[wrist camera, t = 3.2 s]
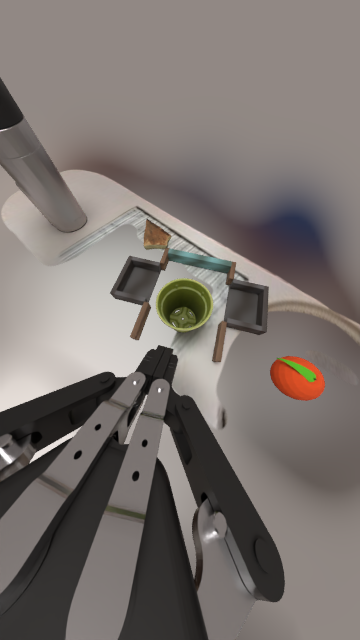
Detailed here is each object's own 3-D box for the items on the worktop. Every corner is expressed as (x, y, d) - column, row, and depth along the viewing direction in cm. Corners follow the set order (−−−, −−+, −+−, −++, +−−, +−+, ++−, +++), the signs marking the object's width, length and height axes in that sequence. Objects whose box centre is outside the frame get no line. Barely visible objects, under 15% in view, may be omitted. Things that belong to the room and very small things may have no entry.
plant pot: (212, 324, 29) (225, 308, 21) (177, 349, 27) (177, 342, 19) (187, 294, 31) (190, 269, 23) (154, 315, 29) (144, 296, 21)
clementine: (250, 372, 26) (276, 374, 19) (268, 346, 27) (297, 340, 21) (287, 404, 24) (329, 419, 17) (304, 374, 26) (348, 378, 19)
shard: (147, 223, 40) (146, 217, 39) (172, 224, 40) (171, 218, 39) (143, 250, 37) (142, 244, 35) (170, 250, 37) (170, 245, 35)
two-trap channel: (99, 329, 28) (92, 326, 26) (139, 249, 36) (136, 241, 34) (256, 373, 26) (264, 373, 23) (262, 276, 33) (269, 269, 31)
